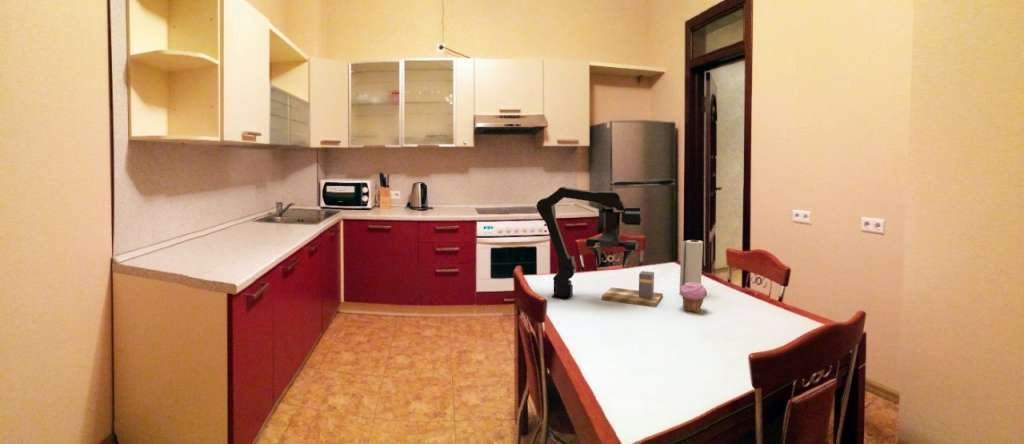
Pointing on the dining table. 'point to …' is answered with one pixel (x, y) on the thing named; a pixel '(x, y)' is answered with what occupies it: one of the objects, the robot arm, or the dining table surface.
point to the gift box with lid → (646, 284)
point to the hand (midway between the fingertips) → (611, 266)
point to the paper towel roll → (691, 262)
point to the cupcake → (693, 296)
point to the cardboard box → (631, 297)
